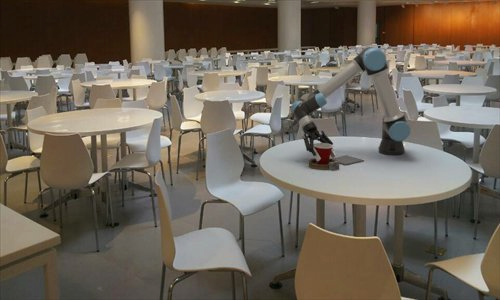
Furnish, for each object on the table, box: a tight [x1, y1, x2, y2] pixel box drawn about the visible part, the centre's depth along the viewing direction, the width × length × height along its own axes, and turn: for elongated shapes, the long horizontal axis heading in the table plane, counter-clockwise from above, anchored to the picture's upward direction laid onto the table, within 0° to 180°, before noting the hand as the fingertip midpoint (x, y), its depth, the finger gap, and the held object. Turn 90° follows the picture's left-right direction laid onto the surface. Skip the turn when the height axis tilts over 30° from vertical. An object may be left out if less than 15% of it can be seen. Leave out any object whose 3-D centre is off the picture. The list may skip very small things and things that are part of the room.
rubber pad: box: [330, 154, 365, 166], centre depth 283 cm, size 14×14×1 cm
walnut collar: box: [308, 157, 340, 172], centre depth 273 cm, size 15×18×4 cm
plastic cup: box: [313, 142, 334, 165], centre depth 273 cm, size 11×11×12 cm
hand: (326, 158), depth 271 cm, fingers closed on plastic cup, 10 cm apart
